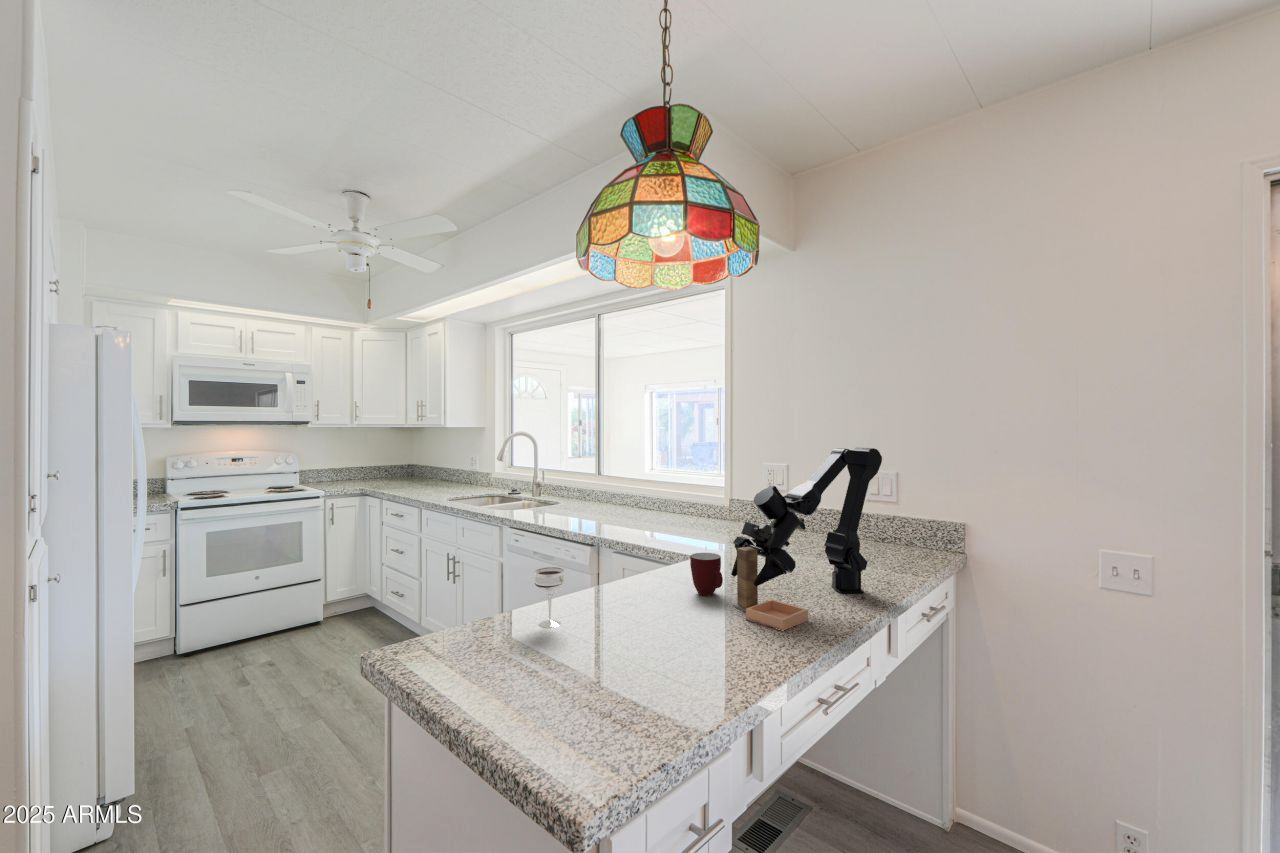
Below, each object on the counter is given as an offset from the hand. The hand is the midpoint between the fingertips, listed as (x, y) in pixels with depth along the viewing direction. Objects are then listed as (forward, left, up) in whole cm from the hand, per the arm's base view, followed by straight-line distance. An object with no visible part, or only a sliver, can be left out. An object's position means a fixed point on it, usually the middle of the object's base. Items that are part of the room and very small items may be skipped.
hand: (743, 580), depth 133 cm
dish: (-6, +8, -7) cm, 12 cm away
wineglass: (+46, +9, -7) cm, 47 cm away
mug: (+7, -11, -7) cm, 15 cm away
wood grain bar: (-1, 0, -7) cm, 7 cm away
